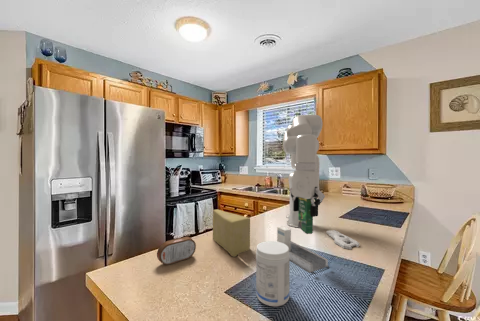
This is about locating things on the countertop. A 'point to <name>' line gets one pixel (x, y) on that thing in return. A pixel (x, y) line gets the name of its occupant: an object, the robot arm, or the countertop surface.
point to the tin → (176, 250)
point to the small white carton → (284, 236)
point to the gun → (342, 239)
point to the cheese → (231, 232)
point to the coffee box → (305, 215)
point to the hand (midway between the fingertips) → (305, 213)
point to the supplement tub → (272, 273)
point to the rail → (306, 258)
